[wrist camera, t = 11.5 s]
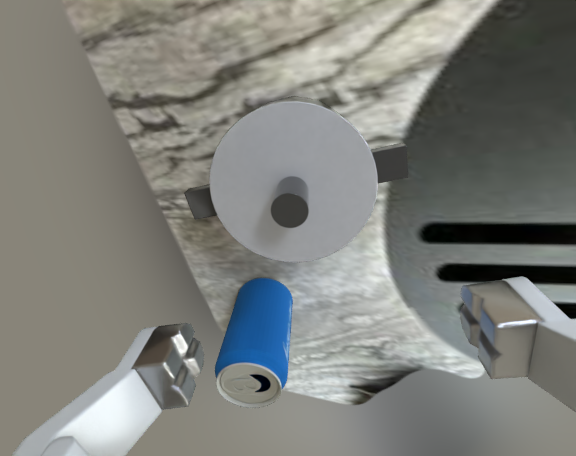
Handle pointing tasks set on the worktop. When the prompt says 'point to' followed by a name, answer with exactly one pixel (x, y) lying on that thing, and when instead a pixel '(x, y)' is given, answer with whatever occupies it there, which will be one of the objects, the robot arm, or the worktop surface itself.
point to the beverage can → (256, 345)
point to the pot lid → (293, 181)
